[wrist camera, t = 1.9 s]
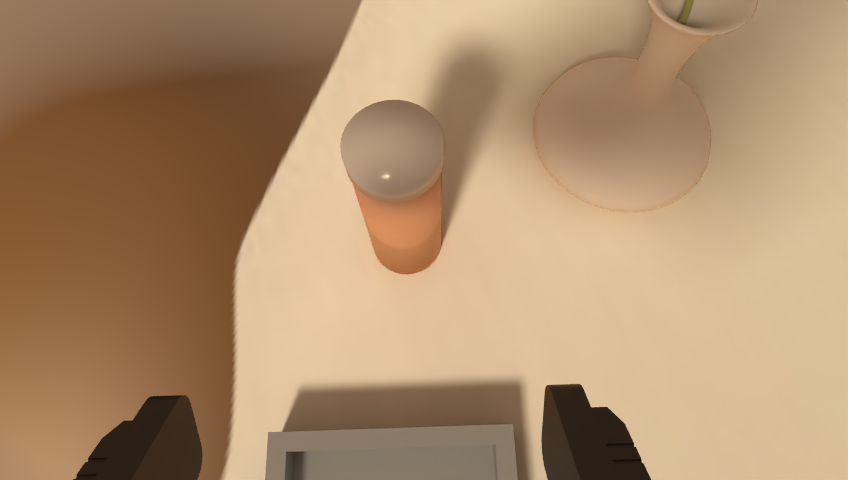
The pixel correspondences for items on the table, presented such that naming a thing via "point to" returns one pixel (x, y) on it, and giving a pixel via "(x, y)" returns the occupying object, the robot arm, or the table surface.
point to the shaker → (397, 181)
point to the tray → (394, 454)
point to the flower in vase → (635, 114)
